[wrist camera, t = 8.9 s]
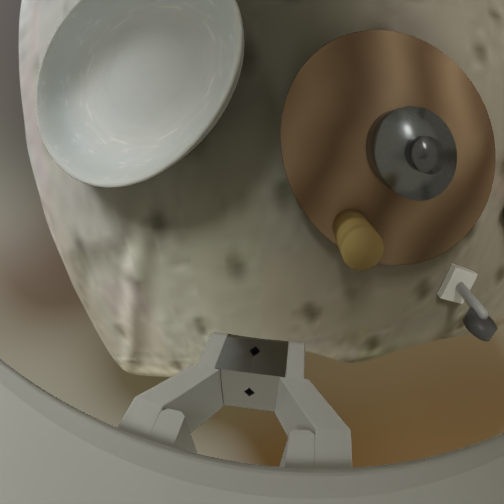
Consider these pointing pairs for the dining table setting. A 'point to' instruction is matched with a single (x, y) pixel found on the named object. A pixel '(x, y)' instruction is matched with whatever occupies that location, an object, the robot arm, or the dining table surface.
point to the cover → (412, 152)
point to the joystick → (467, 301)
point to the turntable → (354, 147)
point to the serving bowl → (136, 85)
